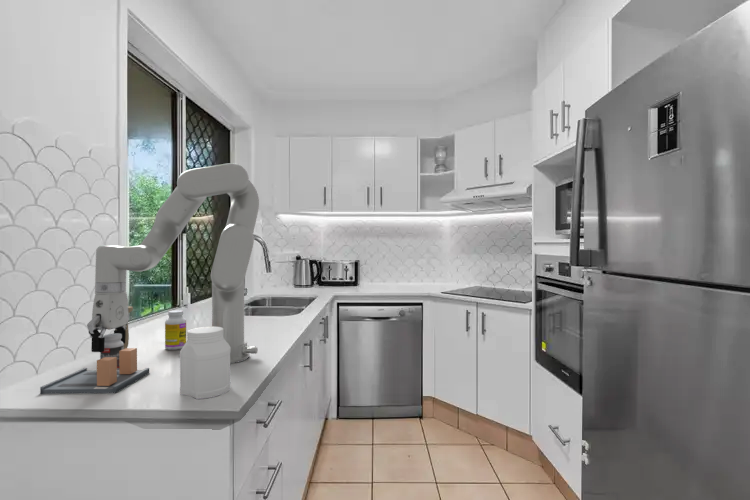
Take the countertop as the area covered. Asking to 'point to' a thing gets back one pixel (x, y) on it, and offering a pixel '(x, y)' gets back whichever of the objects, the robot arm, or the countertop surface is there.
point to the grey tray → (90, 382)
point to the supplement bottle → (175, 330)
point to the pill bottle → (112, 346)
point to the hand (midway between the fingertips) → (109, 347)
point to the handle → (127, 329)
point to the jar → (205, 363)
